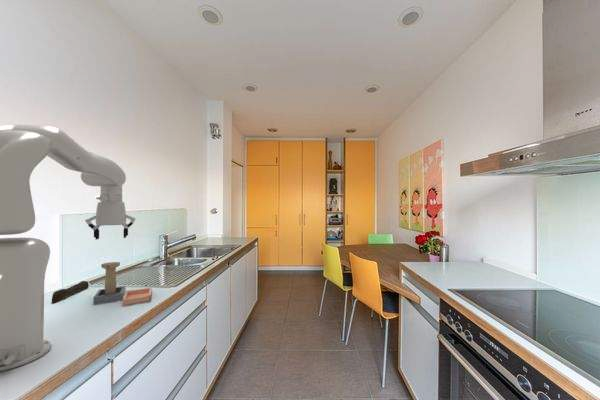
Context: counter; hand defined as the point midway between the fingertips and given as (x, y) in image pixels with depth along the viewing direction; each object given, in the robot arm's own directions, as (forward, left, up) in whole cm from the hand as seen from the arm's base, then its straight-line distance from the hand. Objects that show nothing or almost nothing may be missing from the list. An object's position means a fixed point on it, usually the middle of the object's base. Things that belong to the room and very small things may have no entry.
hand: (111, 238), depth 107 cm
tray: (-7, -10, -26) cm, 29 cm away
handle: (0, 0, -26) cm, 26 cm away
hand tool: (+13, +16, -26) cm, 33 cm away
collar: (0, 0, -26) cm, 26 cm away
